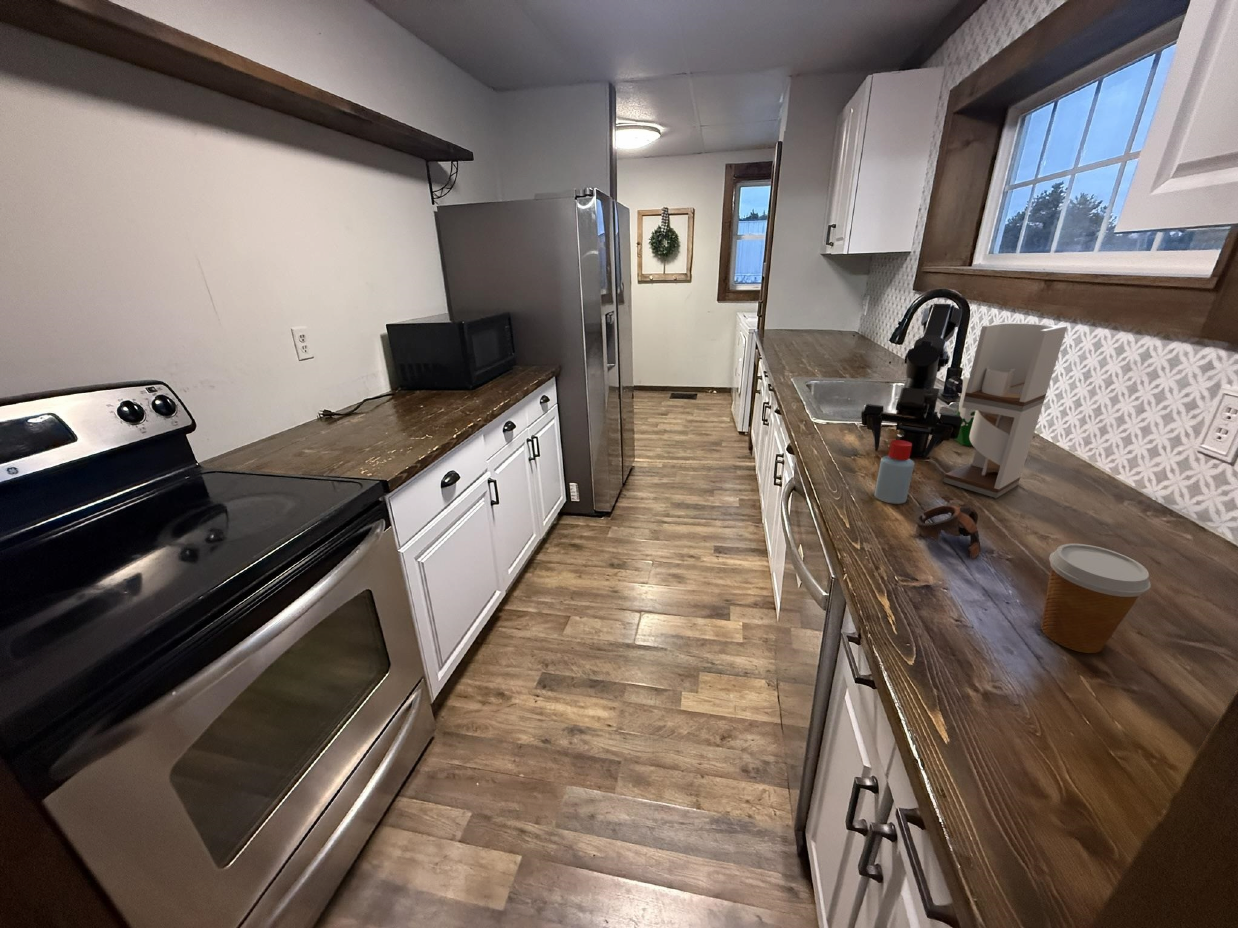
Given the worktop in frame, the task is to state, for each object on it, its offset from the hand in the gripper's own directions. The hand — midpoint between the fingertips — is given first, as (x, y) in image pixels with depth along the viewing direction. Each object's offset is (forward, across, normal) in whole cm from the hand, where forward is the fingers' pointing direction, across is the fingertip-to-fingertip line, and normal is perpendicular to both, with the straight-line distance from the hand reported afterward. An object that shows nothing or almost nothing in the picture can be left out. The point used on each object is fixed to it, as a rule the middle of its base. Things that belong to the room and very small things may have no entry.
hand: (899, 454), depth 105 cm
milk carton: (-29, +12, +42) cm, 52 cm away
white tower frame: (-5, +16, +19) cm, 25 cm away
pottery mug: (+19, +12, -5) cm, 23 cm away
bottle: (+8, 0, +5) cm, 10 cm away
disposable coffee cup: (+32, +27, -19) cm, 46 cm away
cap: (+1, 0, -1) cm, 2 cm away
